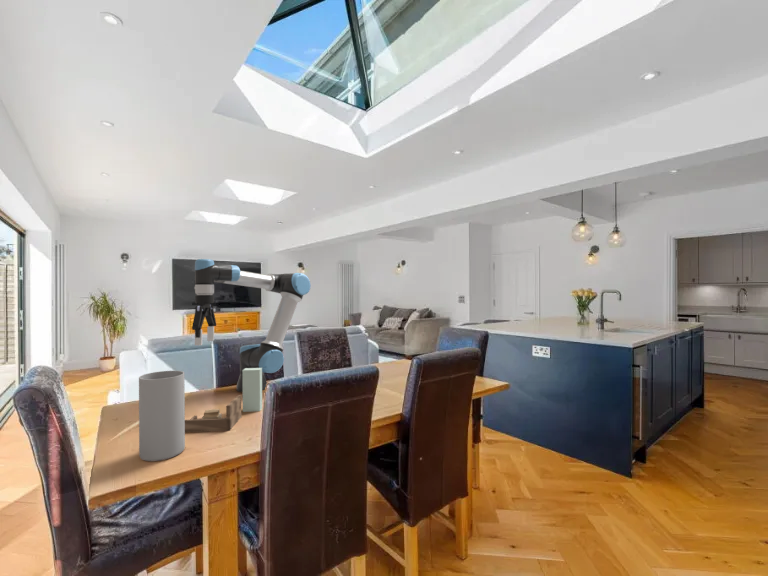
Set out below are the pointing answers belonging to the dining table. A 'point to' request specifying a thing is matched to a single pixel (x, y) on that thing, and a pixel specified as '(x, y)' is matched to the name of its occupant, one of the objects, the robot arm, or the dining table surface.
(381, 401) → the dining table surface
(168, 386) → the cylinder vase
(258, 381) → the pale green block
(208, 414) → the pine offcut
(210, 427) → the tray
